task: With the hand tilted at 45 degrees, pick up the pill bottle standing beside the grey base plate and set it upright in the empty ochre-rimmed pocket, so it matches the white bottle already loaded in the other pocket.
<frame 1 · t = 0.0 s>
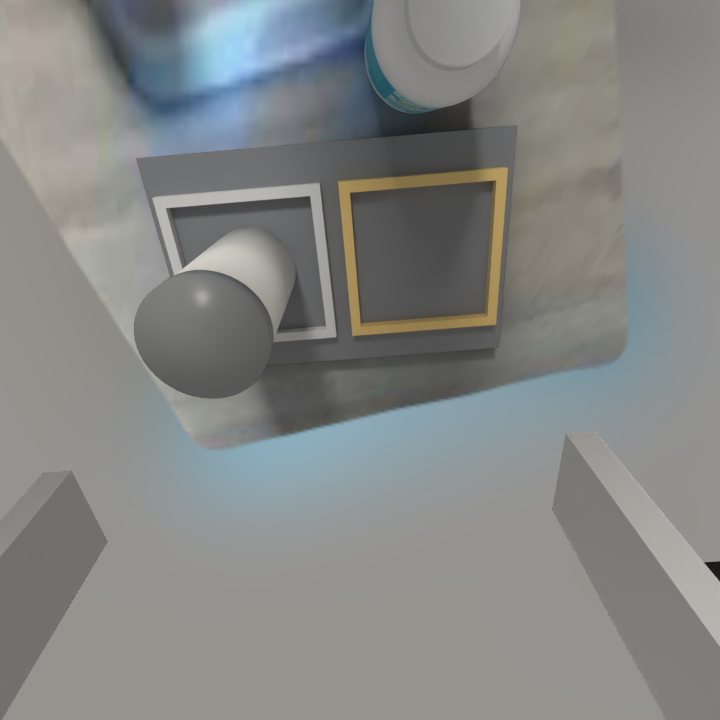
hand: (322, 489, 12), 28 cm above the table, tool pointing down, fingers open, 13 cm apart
grey base plate: (338, 258, 37), on the table
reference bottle: (253, 270, 36), point 1 cm above the table, touching grey base plate
pill bottle: (416, 54, 31), on the table
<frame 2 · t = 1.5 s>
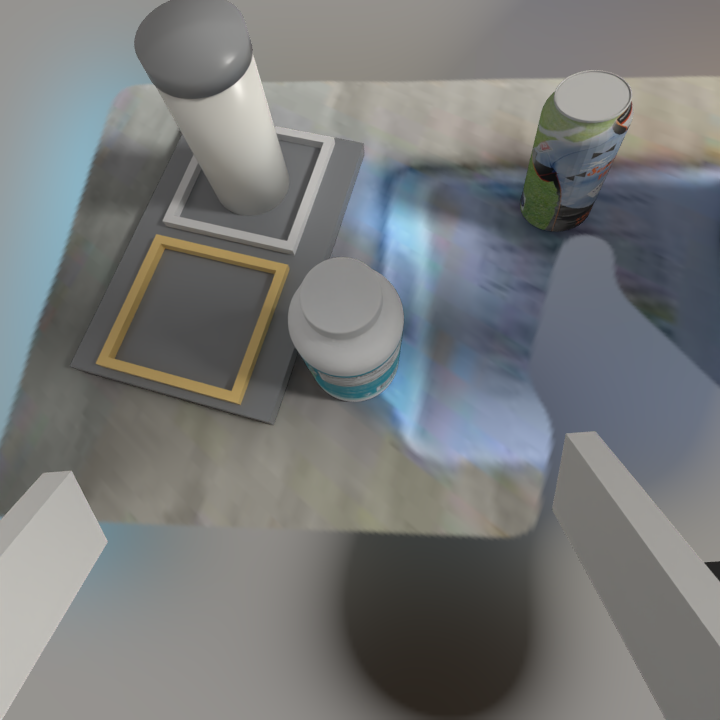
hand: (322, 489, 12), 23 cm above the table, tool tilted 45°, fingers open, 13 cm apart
grey base plate: (232, 255, 40), on the table
beverage can: (542, 209, 40), on the table
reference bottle: (252, 184, 41), point 2 cm above the table, touching grey base plate
pill bottle: (355, 362, 37), on the table
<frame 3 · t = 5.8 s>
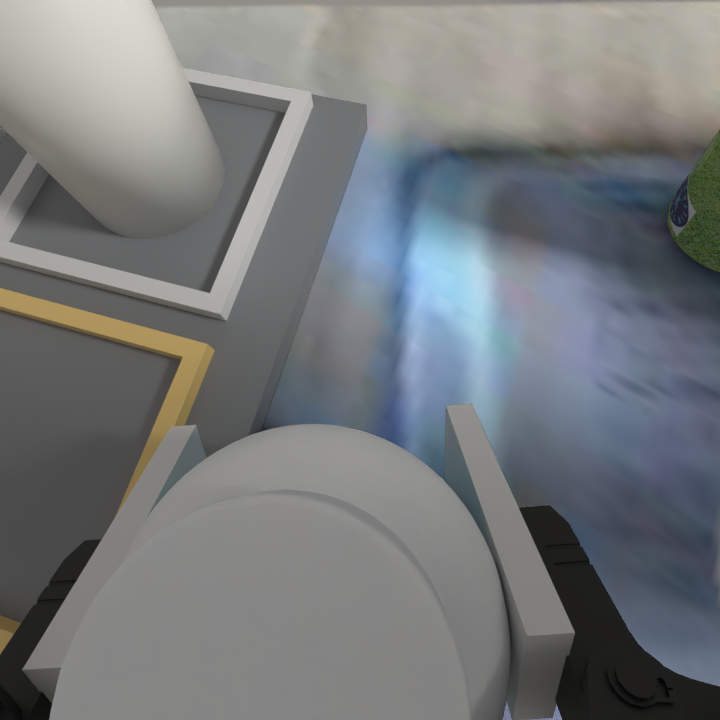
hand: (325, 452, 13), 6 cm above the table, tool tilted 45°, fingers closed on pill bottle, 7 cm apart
grey base plate: (112, 314, 21), on the table
beverage can: (704, 231, 21), on the table
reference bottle: (155, 178, 22), point 2 cm above the table, touching grey base plate
pill bottle: (345, 550, 18), on the table, touching gripper
when the fingers open (8 cm above the table, at t = 10.8 s): pill bottle drops 1 cm, resting on grey base plate.
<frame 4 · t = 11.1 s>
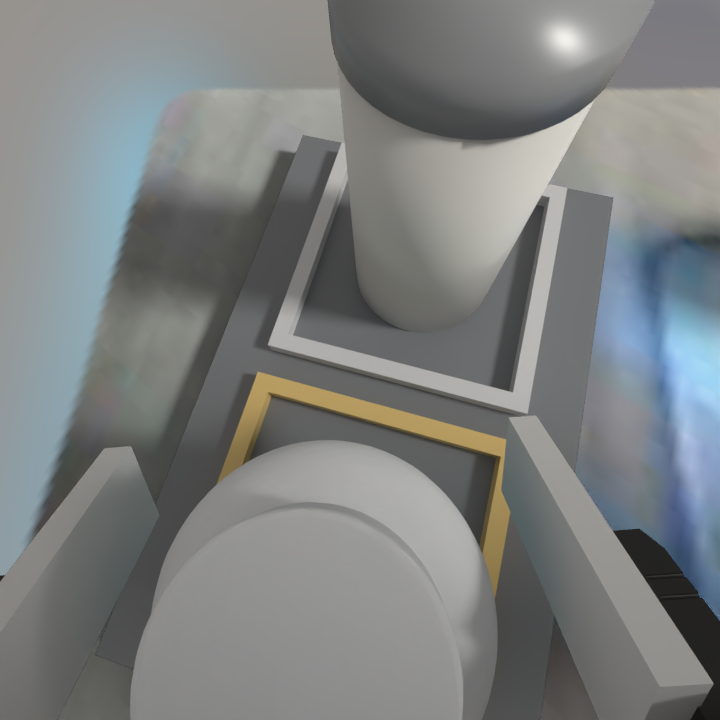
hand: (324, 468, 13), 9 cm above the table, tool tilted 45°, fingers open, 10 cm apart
grey base plate: (387, 402, 22), on the table
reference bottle: (422, 270, 23), point 2 cm above the table, touching grey base plate
pill bottle: (349, 547, 19), point 1 cm above the table, touching grey base plate
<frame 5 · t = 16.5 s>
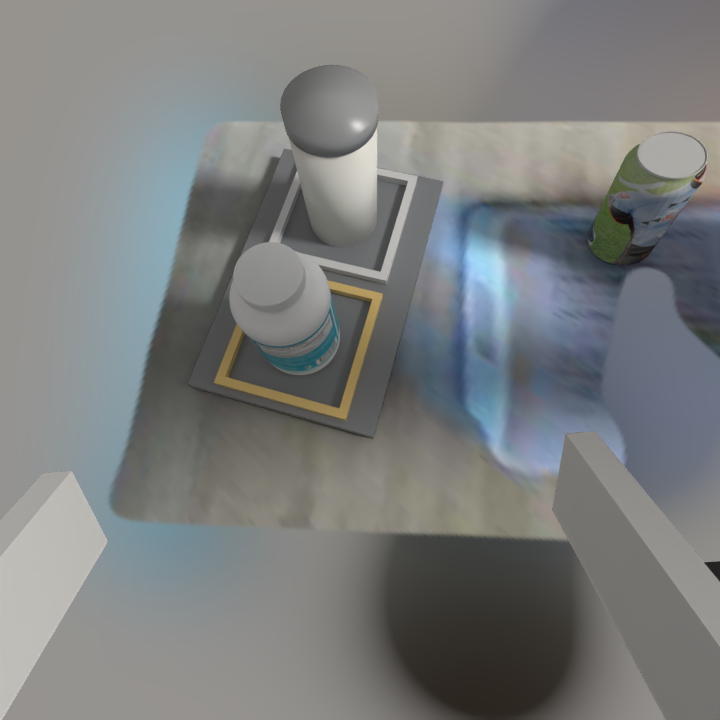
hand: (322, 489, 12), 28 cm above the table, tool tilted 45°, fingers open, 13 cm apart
grey base plate: (325, 283, 44), on the table
beverage can: (606, 243, 45), on the table
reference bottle: (343, 218, 45), point 2 cm above the table, touching grey base plate
pill bottle: (302, 341, 41), point 1 cm above the table, touching grey base plate
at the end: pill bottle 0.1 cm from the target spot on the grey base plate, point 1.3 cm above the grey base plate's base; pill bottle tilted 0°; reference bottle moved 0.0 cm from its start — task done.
